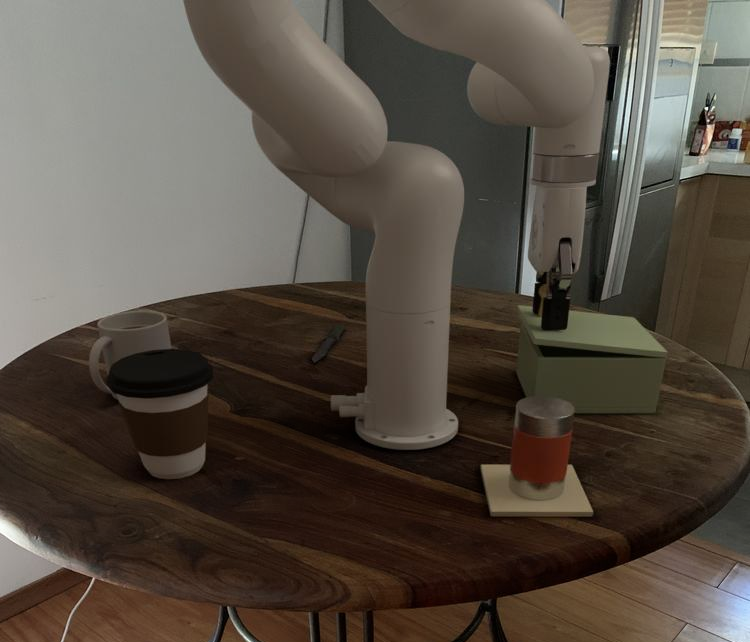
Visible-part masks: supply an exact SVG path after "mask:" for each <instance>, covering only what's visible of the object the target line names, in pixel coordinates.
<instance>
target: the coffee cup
mask: <svg viewBox="0 0 750 642" xmlns="http://www.w3.org/2000/svg"><path fill="white" fill-rule="evenodd" d="M213 379H214V367H213V365H212V364H210V363H209V359H208V358H207V357H205V356H204V355H203V354H201V353H200V352H197V351H193V350H189V349H178V348H171V349H162V350H151V351H146V352H140V353H135V354H133V355H130V356H127V357H124V358H121V359H120V360H118V361H117V362H115V363H114V364H112V366H111V368H110V371H109V374H107V377H106V380H105V383H106V386H107V387H108V388H109V389H110V390H111V391H112V392H113V393H116V394H117V397H118V399H119V400H117V404H118V407H119V409H120V411H121V414H122V417H123V420H124V422H125V425H126V428H127V431H128V434H129V437H130V439H131V441H132V443H133V446H134V448H135V449H136V450H137V452H138V455H139V457H140V459H141V462H142V465H143V466H144V468H145V469H146V470H147V472H148V473H149V474H150V475H151V477H154V478H157V479H159V480H160V479H162V480H176V479H178V480H179V479H184V478H186V477H190V476H192V475H194V474H196V473H198V472H199V471H200V470H201V469H202V468H203V466H204V465H205V461H206V445H207V444H206V443H207V441H208V433H209V432H208V430H209V429H208V428H209V427H208V426H209V397H210V396H209V395H210V394H209V392H210V389H209V388H208V384H209V383H210V382H211V381H212V380H213Z"/></svg>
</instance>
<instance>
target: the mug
mask: <svg viewBox="0 0 750 642" xmlns="http://www.w3.org/2000/svg"><path fill="white" fill-rule="evenodd" d="M97 330H98V334H99V338H98V339H97V340H96V341H95V342H94V343H93V345H92V347H91V349H90V352H89V358H88V369H89V373H90V374H89V375H90V377H91V379H92V381H93V383H94V385H95V386H96V387H97V388H98V389H99V391H102V393H106V394H110V395H111V396H112V397H113V398H114V399H115V400H117V401H119V399H118V397H117V394H116V393H113V392H112V391H111V390H110V389H109V388H108V387H107V384H105V382H104V380H103V379H102V377H101V374H100V368H99V363H100V357H101V353H102V355H103V359H104V364H105V369H106V375H108V374H109V371H110V368H111V366H112V364H114V363H115V362H117V361H118V360H120V359H121V358H124V357H127V356H130V355H133V354H135V353H140V352H146V351H151V350H162V349H172V343H171V337H170V330H169V324H168V319H167V316H166V314H164V313H162V312H160V311H154V310H130V311H129V310H128V311H123V312H122V311H121V312H117V313H112V314H110V315H107V316H104V317H102V318H101V319H99V320H98V321H97Z"/></svg>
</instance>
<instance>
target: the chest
mask: <svg viewBox="0 0 750 642" xmlns="http://www.w3.org/2000/svg"><path fill="white" fill-rule="evenodd" d="M518 338H519V340H518V350H517V359H516V375H517V378H518V380H519V383H520V385H521V388H522V390H523V393H524V395H525V398H527V397H533V396H548V397H555V398H559V399H562V400H565V401H567V402H569V403H571V404H572V405H573V406H574V409H575V411H574V414H656V412H657V407H658V402H659V398H660V393H661V386H662V381H663V377H664V371H665V366H666V361H667V357H666V358H661V357H651V356H642V355H632V354H622V353H613V352H603V351H594V350H584V349H574V348H565V347H555V346H546V345H536V344H534V343H533V341H532V339H531V338H530V336H529V334H528V332H527V330H526V328H525V326H524V324H523V323H520V328H519V337H518Z"/></svg>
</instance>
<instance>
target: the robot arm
mask: <svg viewBox="0 0 750 642" xmlns="http://www.w3.org/2000/svg"><path fill="white" fill-rule="evenodd" d="M367 1H368V2H369V3H370V4H371V5H372V6H373V7H374V8H375V9H376V10H378V12H379V13H380V14H381V15H382V16H383V17H384V18H385V19H386V20H388V22H390V24H391V25H392V26H393V27H394V28H396V30H398V31H399V32H400V33H401V34H402V35H404V36H405V37H406V38H409V39H411V40H413V41H416V42H418V43H419V44H421V45H425V46H428V47H429V48H432V49H435V50H439V51H442V52H447V53H449V54H453V55H458V56H460V57H463V58H467V59H468V60H471V61H474V62H476V63H475V64H474V65H473V66H472V68H471V71H470V73H469V76H468V80H467V85H466V93H467V98H468V101H469V104H470V107H471V108H472V110H473V111H474V112H475V114H476V115H477V116H478V117H479V118H481V119H482V120H484V121H486V122H488V123H490V124H493V125H498V126H508V127H510V126H511V127H529V128H534V134H533V144H532V145H533V146H532V147H533V148H532V157H531V158H532V159H531V170H530V171H531V172H530V185H532V186H535V187H536V188H535V193H534V200H533V206H532V214H531V222H530V230H529V231H530V233H529V239H528V248H527V260H528V261H529V263H530V265H531V266H532V268H533V270H534V271H535V272H536V273H535V282H534V287H533V288H534V289H533V297H532V298H533V300H532V307H533V310H532V311H533V313H534V314H538V313H539V308H540V303H541V299H542V298H541V297H540V295H539V288H540V287H541V286H542V285H544V284H547V288H546V297H544V298H543V308H542V319H541V328H542V330H565V329H567V325H568V316H569V311H570V308H571V307H570V305H571V296H572V279H573V275H574V274H576V273H577V272H578V271H579V268H580V262H581V258H582V250H583V241H584V232H585V231H584V230H585V219H586V208H587V191H588V190H587V189H588V187H593V186H595V185H596V183H597V175H598V165H599V157H600V150H601V149H600V148H601V142H602V133H603V132H602V131H603V125H604V116H605V107H606V100H607V91H608V84H609V83H608V82H609V74H610V63H611V61H610V60H611V59H610V55H609V52H608V51H607V50H606V49H605V48H603V47H600V46H591V45H590V46H588V45H587V46H584V44H583V42H581V39H580V38H579V37H578V35H577V34H576V33H575V32H574V31H573V29H572V28H571V27H570V26H569V24H568V23H567V22H566V21H565V19H564V18H563V17H562V16H561V14H560V13H559V12H558V11H557V10H556V9H555V8H554V6H552V5H551V4H550V3H548V1H546V0H367ZM182 2H183V5H184V10H185V14H186V18H187V21H188V24H189V27H190V31H191V34H192V36H193V38H194V41H195V44H196V47H197V49H198V50H199V52H200V54H201V56H202V57H203V59H204V61H205V62H206V63H207V65H208V67H209V68H210V70H211V71H212V72H213V73H214V74H215V76H216V77H217V78H218V79H219V80H220V82H221V83H222V84H223V85H224V86H225V87H226V88H227V89H228V90H229V91H230V92H231V93H232V94H233V95H234V96H235V97H236V98H237V99H238V100H240V101H241V102H242V103H243V104H244V106H245V107H247V109H248V110H249V111H250V112H251V124H252V125H251V126H252V131H253V134H254V138H255V140H256V142H257V144H258V147H259V148H260V150H261V152H262V153H263V154H264V156H265V157H266V158H267V160H268V161H269V162H270V163H271V164H272V165H273V166H274V167H275V168H276V169H277V170H278V171H279V172H281V174H283V175H284V176H285V177H286V178H287V179H289V180H290V181H291V182H292V183H293V184H295V185H296V186H297V187H298V188H299V189H301V190H302V191H303V192H304V193H305V194H306V195H308V196H309V197H310V198H312V200H314V201H315V202H316V203H317V204H319V205H320V206H321V207H322V208H323V209H325V210H326V211H327V212H328V213H330V214H331V215H332V216H334V217H335V218H336V219H338V220H339V221H341V222H342V223H343V224H345V225H348V226H349V227H351V228H354V229H357V230H358V231H359V230H360V231H363V232H366V233H369V234H372V235H375V238H374V244H373V247H372V250H371V254H370V257H369V261H368V263H367V267H366V273H365V288H364V289H365V297H364V298H365V331H366V332H365V336H366V337H365V339H366V340H365V341H366V385H365V387H364V392H356V395H346V394H344V395H343V394H336V395H334V394H332V395H330V411H331V412H338V413H339V414H338V415H339V418H351V417H352V418H353V417H355V420H354V428H355V429H354V430H355V432H356V434H357V435H358V436H359V437H360V438H361V439H362V440H363V441H365V442H367V443H369V444H371V445H373V446H376V447H380V448H384V449H388V450H389V449H390V450H398V451H416V450H426V449H431V448H435V447H439V446H442V445H443V444H446V443H448V442H449V441H451V440H452V439H454V437H455V436H456V435H457V434H458V431H459V419H458V417H457V416H456V414H455V413H454V412H452V411H451V410H450V409H448V408H447V396H448V370H449V348H450V347H449V346H450V326H451V325H450V322H451V321H450V320H451V297H452V296H451V295H452V278H453V264H454V255H455V249H456V243H457V240H458V239H457V238H458V235H459V231H460V226H461V222H462V218H463V212H464V207H465V187H464V186H465V185H464V182H463V181H464V180H463V177H462V175H461V173H460V170H459V168H458V167H457V166H456V164H455V163H454V162H453V160H452V159H451V158H449V156H447V155H446V154H445V153H444V152H442V151H440V150H438V149H436V148H434V147H432V146H428V145H425V144H419V143H413V142H404V141H388V130H389V129H388V122H387V117H386V115H385V111H384V108H383V107H382V104H381V103H380V100H379V99H378V98H377V96H376V95H375V93H374V92H373V91H372V90H371V88H370V87H369V86H368V85H367V84H366V83H365V82H364V81H363V80H362V79H361V78H360V77H359V76H358V75H357V74H356V73H355V72H354V71H353V70H352V69H351V68H350V67H349V66H348V65H347V63H345V62H344V61H343V60H342V59H341V58H340V56H338V55H337V53H336V52H335V51H333V49H332V48H331V47H329V46H328V44H326V42H325V41H324V40H323V39H322V38H321V37H320V36H319V35H318V34H317V33H316V32H315V31H314V30H313V28H312V27H311V26H310V24H308V22H307V21H306V20H305V19H304V18H303V17H302V16H301V14H300V13H299V11H297V9H296V7H294V5H293V3H292V2H291V0H182Z"/></svg>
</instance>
